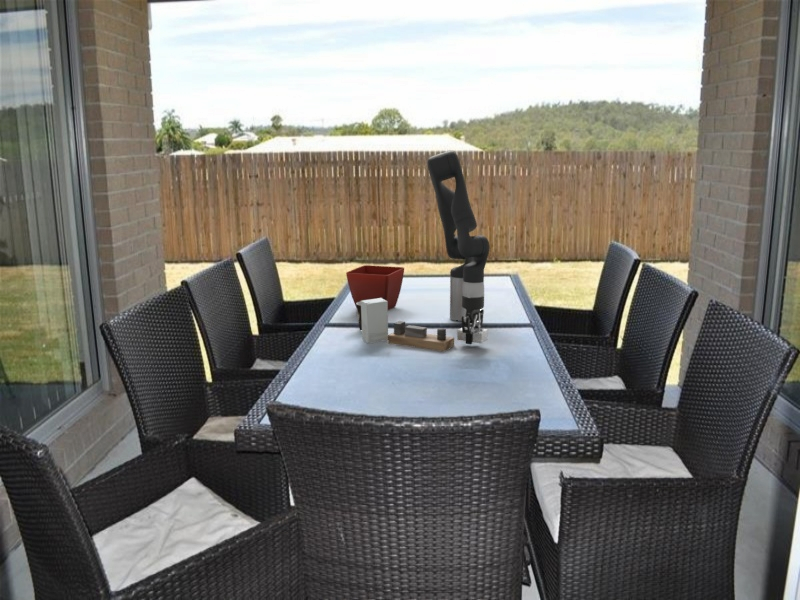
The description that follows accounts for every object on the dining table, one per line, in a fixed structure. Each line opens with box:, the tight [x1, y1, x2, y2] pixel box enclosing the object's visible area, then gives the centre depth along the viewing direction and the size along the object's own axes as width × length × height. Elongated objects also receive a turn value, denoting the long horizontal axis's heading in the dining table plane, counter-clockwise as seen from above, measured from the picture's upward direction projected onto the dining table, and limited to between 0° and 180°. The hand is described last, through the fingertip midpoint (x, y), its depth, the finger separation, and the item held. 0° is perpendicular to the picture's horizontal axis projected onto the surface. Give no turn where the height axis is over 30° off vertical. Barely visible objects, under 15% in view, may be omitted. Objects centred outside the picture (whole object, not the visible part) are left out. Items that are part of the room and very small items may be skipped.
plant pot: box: [345, 264, 405, 311], centre depth 314 cm, size 19×19×17 cm
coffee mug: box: [355, 302, 362, 331], centre depth 284 cm, size 12×9×10 cm
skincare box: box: [361, 298, 389, 344], centre depth 266 cm, size 8×6×15 cm
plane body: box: [387, 320, 455, 352], centre depth 261 cm, size 8×22×7 cm, turn 61°
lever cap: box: [456, 327, 489, 344], centre depth 258 cm, size 6×9×4 cm, turn 61°
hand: (472, 341), depth 259 cm, fingers closed on lever cap, 5 cm apart
